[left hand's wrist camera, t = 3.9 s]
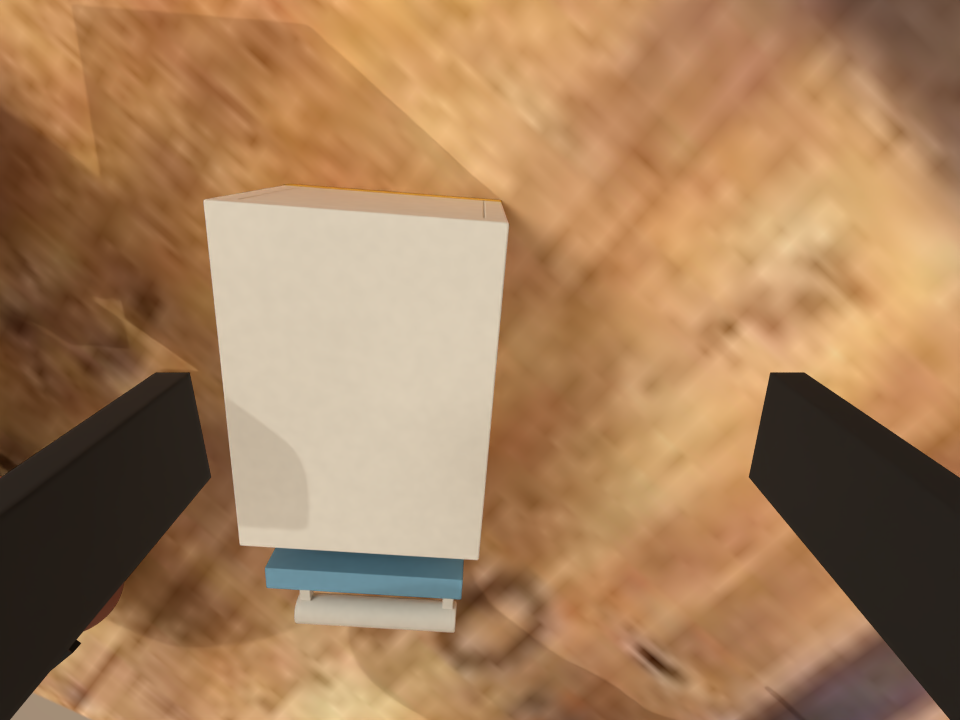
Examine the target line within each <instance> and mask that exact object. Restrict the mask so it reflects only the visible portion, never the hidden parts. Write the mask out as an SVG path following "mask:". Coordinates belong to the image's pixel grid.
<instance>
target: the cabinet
mask: <svg viewBox="0 0 960 720" xmlns="http://www.w3.org/2000/svg"><path fill="white" fill-rule="evenodd" d="M204 211H205V220H206V230H207V239H208V249H209V258H210V268H211V277H212V287H213V296H214V305H215V315H216V324H217V334H218V343H219V353H220V362H221V371H222V381H223V390H224V400H225V409H226V419H227V428H228V437H229V447H230V456H231V466H232V475H233V485H234V494H235V503H236V513H237V522H238V532H239V541H240V545H242V546H258V547H274V548H290V549H306V550H322V551H339V552H355V553H371V554H387V555H403V556H419V557H435V558H452V559H468V560H478V559H479V550H480V539H481V528H482V517H483V506H484V495H485V484H486V473H487V462H488V451H489V440H490V429H491V418H492V407H493V396H494V385H495V374H496V363H497V352H498V341H499V330H500V319H501V308H502V297H503V286H504V275H505V264H506V253H507V242H508V231H509V223H508V220H507V217H506V214H505V212H504V209H503V206H502V201H501V200H493V199H480V198H467V197H454V196H441V195H428V194H415V193H402V192H389V191H376V190H363V189H350V188H337V187H324V186H311V185H298V184H285V185H283V186H277V187H272V188H266V189H260V190H255V191H249V192H244V193H238V194H232V195H227V196H221V197H216V198H210V199H205V200H204Z"/></svg>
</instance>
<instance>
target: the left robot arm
mask: <svg viewBox="0 0 960 720" xmlns="http://www.w3.org/2000/svg"><path fill="white" fill-rule="evenodd" d="M210 478H211V474H210V469H209V464H208V460H207V455H206V450H205V445H204V440H203V435H202V430H201V425H200V421H199V416H198V411H197V406H196V401H195V396H194V391H193V386H192V382H191V377H190V373H154V374H153V375H151V376H150V377H148V378H147V379H145V380H144V381H143V382H141V383H140V384H138V385H137V386H135V387H134V388H132V389H131V390H129V391H128V392H126V393H125V394H123V395H122V396H120V397H119V398H117V399H116V400H114V401H113V402H112V403H110V404H109V405H107V406H106V407H104V408H103V409H101V410H100V411H98V412H97V413H95V414H94V415H92V416H91V417H89V418H88V419H86V420H85V421H83V422H82V423H80V424H79V425H78V426H76V427H75V428H73V429H72V430H70V431H69V432H67V433H66V434H64V435H63V436H61V437H60V438H58V439H57V440H55V441H54V442H52V443H51V444H49V445H48V446H47V447H45V448H44V449H42V450H41V451H39V452H38V453H36V454H35V455H33V456H32V457H30V458H29V459H27V460H26V461H24V462H23V463H21V464H20V465H18V466H17V467H15V468H14V469H13V470H11V471H10V472H8V473H7V474H5V475H4V476H2V477H1V478H0V720H10V719H11V718H12V717H13V715H14V714H15V713H16V712H17V711H18V709H19V708H20V707H21V706H22V705H23V703H24V702H25V701H26V700H27V698H28V697H29V696H30V695H31V694H32V693H33V691H34V690H35V689H36V688H37V686H38V685H39V684H40V683H41V682H42V680H43V679H44V678H45V677H46V676H47V674H48V673H49V672H50V671H51V670H52V668H53V667H54V666H55V665H56V664H57V662H58V661H59V660H60V659H61V658H62V656H63V655H64V654H65V653H66V652H67V650H68V649H69V648H70V647H71V646H72V644H73V643H74V642H75V641H76V639H77V638H78V637H79V636H80V635H81V633H82V632H83V631H84V630H85V629H86V627H87V626H88V625H89V624H90V623H91V621H92V620H93V619H94V618H95V617H96V615H97V614H98V613H99V612H100V611H101V609H102V608H103V607H104V606H105V605H106V603H107V602H108V601H109V600H110V598H111V597H112V596H113V595H114V594H115V592H116V591H117V590H118V589H119V588H120V586H121V585H122V584H123V583H124V582H125V580H126V579H127V578H128V577H129V576H130V574H131V573H132V572H133V571H134V570H135V568H136V567H137V566H138V565H139V564H140V562H141V561H142V560H143V559H144V558H145V556H146V555H147V554H148V553H149V551H150V550H151V549H152V548H153V547H154V545H155V544H156V543H157V542H158V541H159V539H160V538H161V537H162V536H163V535H164V533H165V532H166V531H167V530H168V529H169V527H170V526H171V525H172V524H173V523H174V521H175V520H176V519H177V518H178V517H179V515H180V514H181V513H182V512H183V510H184V509H185V508H186V507H187V506H188V504H189V503H190V502H191V501H192V500H193V498H194V497H195V496H196V495H197V494H198V492H199V491H200V490H201V489H202V488H203V486H204V485H205V484H206V483H207V482H208V480H209V479H210ZM749 478H750V479H751V480H752V482H753V483H754V484H755V485H756V486H757V488H758V489H759V490H760V491H761V492H762V494H763V495H764V496H765V497H766V498H767V500H768V501H769V502H770V503H771V504H772V506H773V507H774V508H775V509H776V510H777V512H778V513H779V514H780V515H781V517H782V518H783V519H784V520H785V521H786V523H787V524H788V525H789V526H790V527H791V529H792V530H793V531H794V532H795V533H796V535H797V536H798V537H799V538H800V539H801V541H802V542H803V543H804V544H805V545H806V547H807V548H808V549H809V550H810V551H811V553H812V554H813V555H814V556H815V558H816V559H817V560H818V561H819V562H820V564H821V565H822V566H823V567H824V568H825V570H826V571H827V572H828V573H829V574H830V576H831V577H832V578H833V579H834V580H835V582H836V583H837V584H838V585H839V586H840V588H841V589H842V590H843V591H844V592H845V594H846V595H847V596H848V597H849V598H850V600H851V601H852V602H853V603H854V605H855V606H856V607H857V608H858V609H859V611H860V612H861V613H862V614H863V615H864V617H865V618H866V619H867V620H868V621H869V623H870V624H871V625H872V626H873V627H874V629H875V630H876V631H877V632H878V633H879V635H880V636H881V637H882V638H883V639H884V641H885V642H886V643H887V644H888V646H889V647H890V648H891V649H892V650H893V652H894V653H895V654H896V655H897V656H898V658H899V659H900V660H901V661H902V662H903V664H904V665H905V666H906V667H907V668H908V670H909V671H910V672H911V673H912V674H913V676H914V677H915V678H916V679H917V680H918V682H919V683H920V684H921V685H922V686H923V688H924V689H925V690H926V691H927V693H928V694H929V695H930V696H931V697H932V699H933V700H934V701H935V702H936V703H937V705H938V706H939V707H940V708H941V709H942V711H943V712H944V713H945V714H946V715H947V717H948V718H949V719H950V720H960V478H959V477H958V476H956V475H955V474H953V473H952V472H950V471H949V470H947V469H946V468H945V467H943V466H942V465H940V464H939V463H937V462H936V461H934V460H933V459H931V458H930V457H928V456H927V455H925V454H924V453H922V452H921V451H919V450H918V449H916V448H915V447H913V446H912V445H911V444H909V443H908V442H906V441H905V440H903V439H902V438H900V437H899V436H897V435H896V434H894V433H893V432H891V431H890V430H888V429H887V428H885V427H884V426H882V425H881V424H880V423H878V422H877V421H875V420H874V419H872V418H871V417H869V416H868V415H866V414H865V413H863V412H862V411H860V410H859V409H857V408H856V407H854V406H853V405H851V404H850V403H848V402H847V401H846V400H844V399H843V398H841V397H840V396H838V395H837V394H835V393H834V392H832V391H831V390H829V389H828V388H826V387H825V386H823V385H822V384H820V383H819V382H817V381H816V380H815V379H813V378H812V377H810V376H809V375H807V374H806V373H770V377H769V382H768V386H767V391H766V396H765V401H764V406H763V411H762V416H761V421H760V425H759V430H758V435H757V440H756V445H755V450H754V455H753V459H752V464H751V469H750V474H749Z"/></svg>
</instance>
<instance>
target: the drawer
mask: <svg viewBox="0 0 960 720" xmlns="http://www.w3.org/2000/svg"><path fill="white" fill-rule="evenodd" d="M463 565H464V559H452V558H435V557H419V556H403V555H387V554H371V553H355V552H339V551H322V550H306V549H290V548H275V550H274V552H273V554H272V556H271V558H270V559H269V561H268V563H267V565H266V567H265V575H266V586H267V588H277V589H293V590H300V594H299V596H298V599H297V602H296V606H295V614H294V618H295V623H299V624H316V625H333V626H350V627H367V628H384V629H401V630H418V631H435V632H452V633H454V632H455V622H456V606H457V602H456V601H453V599H459V600H460V599H461V597H462V584H463ZM313 591H327V592H343V593H360V594H376V595H393V596H410V597H426V598H443V600H428V599H411V598H395V597H378V596H361V595H345V594H328V593H314V592H313Z"/></svg>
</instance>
